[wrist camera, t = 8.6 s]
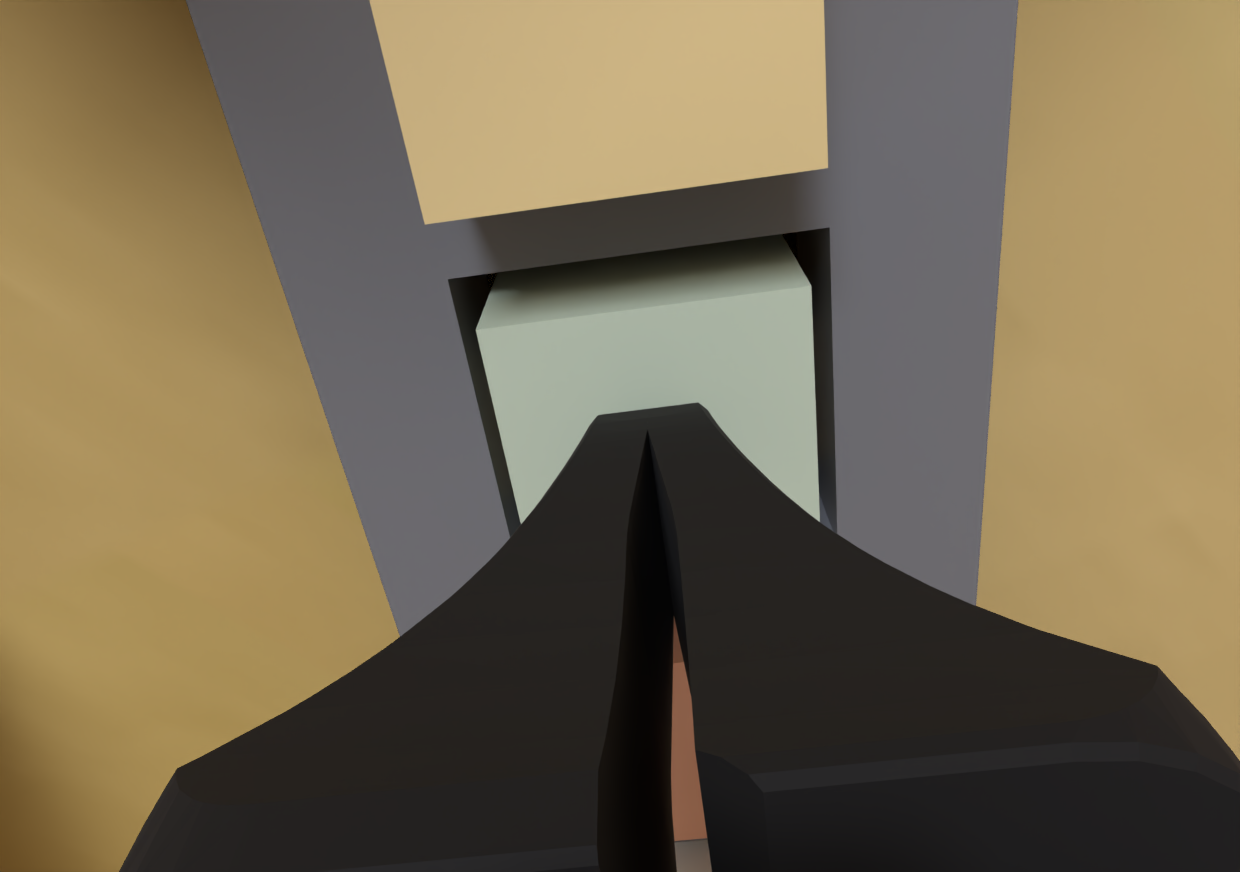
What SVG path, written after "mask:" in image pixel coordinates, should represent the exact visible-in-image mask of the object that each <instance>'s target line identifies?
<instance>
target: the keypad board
mask: <svg viewBox="0 0 1240 872" xmlns="http://www.w3.org/2000/svg"><path fill="white" fill-rule="evenodd" d="M186 2H187V5H188V8H189V11H190V14H191V17H192V20H193V23H194V26H195V29H196V32H197V35H198V38H199V41H200V44H201V47H202V50H203V53H204V56H205V59H206V62H207V65H208V68H209V71H210V74H211V77H212V80H213V83H214V86H215V89H216V92H217V95H218V97H219V100H220V103H221V106H222V109H223V112H224V115H225V118H226V121H227V124H228V127H229V130H230V133H231V136H232V139H233V142H234V145H235V148H236V151H237V154H238V157H239V160H240V163H241V166H242V169H243V172H244V175H245V178H246V181H247V184H248V187H249V189H250V192H251V195H252V198H253V201H254V204H255V207H256V210H257V213H258V216H259V219H260V222H261V225H262V228H263V231H264V234H265V237H266V240H267V243H268V246H269V249H270V252H271V255H272V258H273V261H274V264H275V267H276V270H277V273H278V276H279V279H280V282H281V284H282V287H283V290H284V293H285V296H286V299H287V302H288V305H289V308H290V311H291V314H292V317H293V320H294V323H295V326H296V329H297V332H298V335H299V338H300V341H301V344H302V347H303V350H304V353H305V356H306V359H307V362H308V365H309V368H310V371H311V374H312V376H313V379H314V382H315V385H316V388H317V391H318V394H319V397H320V400H321V403H322V406H323V409H324V412H325V415H326V418H327V421H328V424H329V427H330V430H331V433H332V436H333V439H334V442H335V445H336V448H337V451H338V454H339V457H340V460H341V463H342V466H343V469H344V471H345V474H346V477H347V480H348V483H349V486H350V489H351V492H352V495H353V498H354V501H355V504H356V507H357V510H358V513H359V516H360V519H361V522H362V525H363V528H364V531H365V534H366V537H367V540H368V543H369V546H370V549H371V552H372V555H373V558H374V561H375V563H376V566H377V569H378V572H379V575H380V578H381V581H382V584H383V587H384V590H385V593H386V596H387V599H388V602H389V605H390V608H391V611H392V614H393V617H394V620H395V623H396V626H397V629H398V632H399V635H400V636H402V635H403V634H404V633H406V632H407V631H408V630H409V629H411V628H412V627H413V626H414V625H416V624H417V623H418V622H419V621H421V620H422V619H423V618H424V617H426V616H427V615H428V614H430V613H431V612H432V611H433V610H435V609H436V608H437V607H438V606H440V605H441V604H442V603H443V602H445V601H446V600H447V599H448V598H450V597H451V596H452V595H453V594H454V593H455V592H456V591H458V590H459V589H460V588H461V587H462V586H463V585H464V584H465V583H466V582H467V581H468V580H469V579H470V578H472V577H473V576H474V575H475V574H476V573H477V572H478V571H479V570H480V569H481V568H482V567H483V566H484V565H485V564H486V563H487V562H488V561H489V560H490V559H491V558H492V557H493V556H494V555H495V554H496V553H497V552H498V551H499V550H500V549H501V548H502V547H503V545H504V544H505V543H506V542H507V541H508V540H509V538H510V537H511V536H512V535H513V533H514V532H515V531H516V530H517V529H518V527H519V526H520V525H521V522H520V518H519V514H518V510H517V505H516V501H515V497H514V492H513V488H512V484H511V479H510V475H509V471H508V467H507V462H506V458H505V454H504V449H503V445H502V441H501V437H500V432H499V428H498V424H497V419H496V415H495V411H494V406H493V402H492V398H491V394H490V389H489V385H488V381H487V376H486V372H485V368H484V363H483V359H482V355H481V351H480V346H479V342H478V338H477V333H476V328H477V325H478V323H479V320H480V317H481V315H482V312H483V309H484V307H485V304H486V301H487V299H488V296H489V294H490V288H489V284H488V279H487V274H490V273H497V272H504V271H512V270H519V269H527V268H534V267H541V266H549V265H556V264H563V263H571V262H578V261H586V260H593V259H600V258H608V257H615V256H622V255H630V254H637V253H645V252H652V251H659V250H667V249H674V248H681V247H689V246H696V245H704V244H711V243H718V242H726V241H733V240H740V239H748V238H755V237H763V236H770V235H777V234H785V233H792V232H797V253H798V263H799V265H800V267H801V269H802V270H803V272H804V274H805V276H806V277H807V279H808V281H809V283H810V284H811V290H812V317H813V345H814V372H815V400H816V427H817V455H818V482H819V510H820V523H822V524H823V525H824V526H826V527H827V528H829V529H831V530H832V531H834V532H835V533H837V534H838V535H840V536H841V537H843V538H844V539H846V540H847V541H849V542H851V543H852V544H854V545H855V546H857V547H858V548H860V549H862V550H863V551H865V552H867V553H868V554H870V555H872V556H874V557H876V558H877V559H879V560H881V561H883V562H884V563H886V564H888V565H890V566H892V567H894V568H896V569H898V570H900V571H902V572H904V573H906V574H908V575H910V576H912V577H914V578H916V579H918V580H920V581H922V582H924V583H926V584H927V585H929V586H932V587H934V588H936V589H938V590H940V591H943V592H945V593H947V594H949V595H952V596H954V597H956V598H958V599H961V600H963V601H965V602H968V603H970V604H972V605H975V606H976V598H977V583H978V569H979V555H980V540H981V526H982V512H983V497H984V483H985V469H986V454H987V440H988V426H989V411H990V397H991V383H992V368H993V354H994V339H995V325H996V311H997V296H998V282H999V268H1000V253H1001V239H1002V225H1003V210H1004V196H1005V182H1006V167H1007V153H1008V139H1009V124H1010V110H1011V96H1012V81H1013V67H1014V53H1015V38H1016V24H1017V10H1018V0H824V25H825V65H826V104H827V144H828V168H825V169H818V170H811V171H804V172H797V173H789V174H782V175H775V176H768V177H761V178H754V179H747V180H739V181H732V182H725V183H718V184H711V185H704V186H697V187H689V188H682V189H675V190H668V191H661V192H654V193H647V194H639V195H632V196H625V197H618V198H611V199H604V200H597V201H589V202H582V203H575V204H568V205H561V206H554V207H547V208H539V209H532V210H525V211H518V212H511V213H504V214H497V215H489V216H482V217H475V218H468V219H461V220H454V221H447V222H439V223H432V224H425V223H424V219H423V215H422V211H421V207H420V203H419V199H418V195H417V191H416V187H415V183H414V179H413V175H412V171H411V167H410V163H409V159H408V155H407V151H406V146H405V142H404V138H403V134H402V130H401V126H400V122H399V118H398V114H397V110H396V106H395V102H394V98H393V94H392V90H391V86H390V82H389V78H388V74H387V70H386V66H385V62H384V57H383V53H382V49H381V45H380V41H379V37H378V33H377V29H376V25H375V21H374V17H373V13H372V9H371V5H370V1H369V0H186ZM698 840H707V838H702V839H691V840H680V841H675V843H676V842H687V841H698Z"/></svg>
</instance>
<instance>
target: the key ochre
mask: <svg viewBox="0 0 1240 872" xmlns="http://www.w3.org/2000/svg"><path fill="white" fill-rule="evenodd" d="M369 1H370V5H371V9H372V13H373V17H374V21H375V25H376V29H377V33H378V37H379V41H380V45H381V49H382V53H383V57H384V62H385V66H386V70H387V74H388V78H389V82H390V86H391V90H392V94H393V98H394V102H395V106H396V110H397V114H398V118H399V122H400V126H401V130H402V134H403V138H404V142H405V146H406V151H407V155H408V159H409V163H410V167H411V171H412V175H413V179H414V183H415V187H416V191H417V195H418V199H419V203H420V207H421V211H422V215H423V219H424V223H425V224H432V223H439V222H447V221H454V220H461V219H468V218H475V217H482V216H489V215H497V214H504V213H511V212H518V211H525V210H532V209H539V208H547V207H554V206H561V205H568V204H575V203H582V202H589V201H597V200H604V199H611V198H618V197H625V196H632V195H639V194H647V193H654V192H661V191H668V190H675V189H682V188H689V187H697V186H704V185H711V184H718V183H725V182H732V181H739V180H747V179H754V178H761V177H768V176H775V175H782V174H789V173H797V172H804V171H811V170H818V169H825V168H828V144H827V104H826V65H825V25H824V0H369Z"/></svg>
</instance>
